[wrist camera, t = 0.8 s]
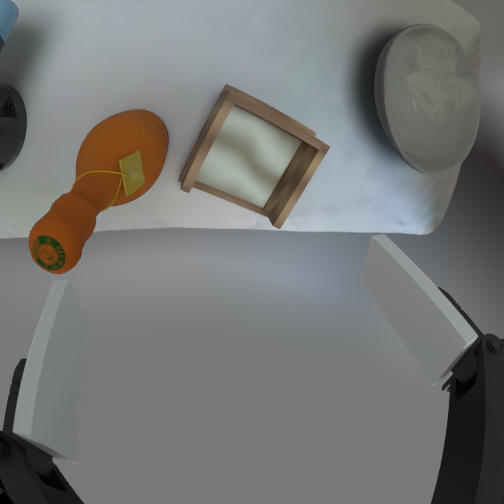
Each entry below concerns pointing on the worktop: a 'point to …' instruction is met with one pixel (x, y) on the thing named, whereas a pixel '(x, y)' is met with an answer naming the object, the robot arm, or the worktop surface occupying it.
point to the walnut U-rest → (253, 156)
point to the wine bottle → (100, 184)
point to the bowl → (427, 98)
